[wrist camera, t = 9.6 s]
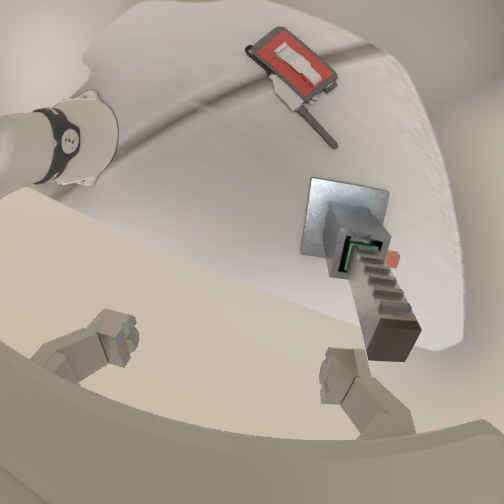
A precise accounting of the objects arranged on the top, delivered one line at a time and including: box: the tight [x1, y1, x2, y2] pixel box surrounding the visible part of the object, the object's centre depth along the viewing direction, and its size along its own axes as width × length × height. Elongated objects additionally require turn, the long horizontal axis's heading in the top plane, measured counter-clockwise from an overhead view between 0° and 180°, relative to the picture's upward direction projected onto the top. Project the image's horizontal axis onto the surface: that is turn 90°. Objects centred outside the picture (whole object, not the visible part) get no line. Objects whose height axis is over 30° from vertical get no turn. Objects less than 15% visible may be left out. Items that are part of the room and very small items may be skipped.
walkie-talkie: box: [245, 27, 338, 149], centre depth 32 cm, size 9×4×20 cm
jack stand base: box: [300, 177, 400, 280], centre depth 35 cm, size 12×12×13 cm
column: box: [342, 235, 421, 362], centre depth 25 cm, size 3×4×20 cm
